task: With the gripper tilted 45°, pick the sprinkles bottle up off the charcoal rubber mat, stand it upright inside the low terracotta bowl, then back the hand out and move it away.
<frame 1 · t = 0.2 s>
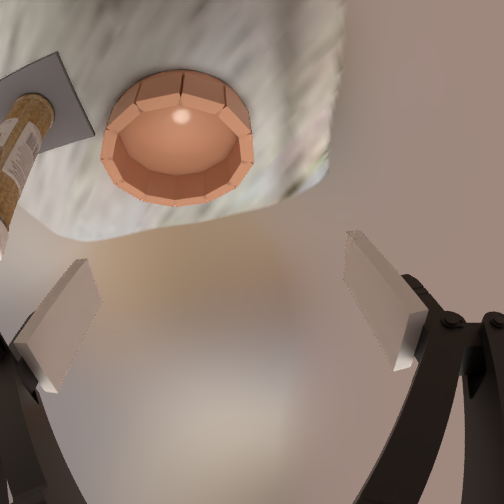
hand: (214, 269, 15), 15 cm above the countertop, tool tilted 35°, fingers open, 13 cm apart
rubber mat: (35, 111, 20), on the countertop
sprinkles bottle: (34, 111, 20), resting on rubber mat
terracotta bowl: (178, 129, 25), on the countertop
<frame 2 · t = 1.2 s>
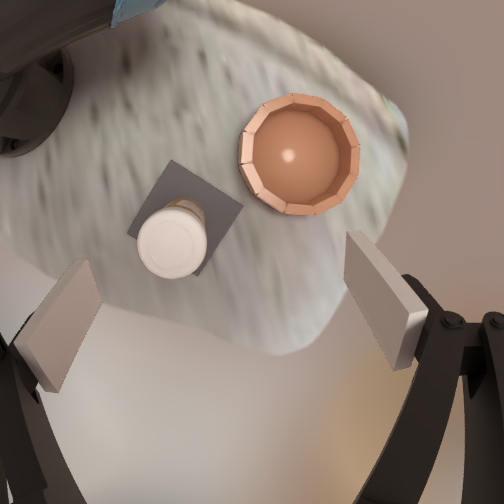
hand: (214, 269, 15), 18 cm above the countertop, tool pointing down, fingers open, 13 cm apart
rubber mat: (184, 218, 32), on the countertop
sprinkles bottle: (184, 218, 32), resting on rubber mat
terracotta bowl: (293, 156, 33), on the countertop
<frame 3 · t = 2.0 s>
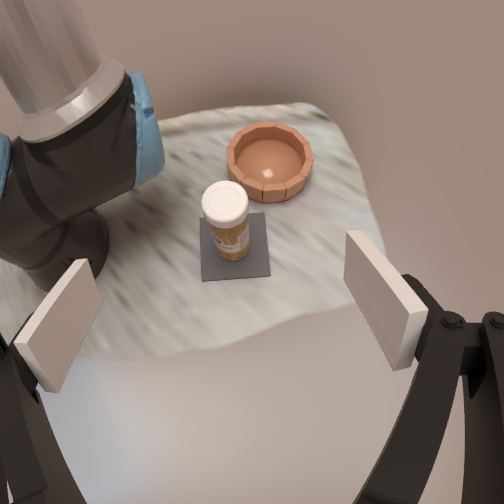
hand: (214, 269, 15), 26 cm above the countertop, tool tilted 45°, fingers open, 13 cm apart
rubber mat: (233, 246, 43), on the countertop
sprinkles bottle: (233, 246, 43), resting on rubber mat
terracotta bowl: (268, 167, 46), on the countertop
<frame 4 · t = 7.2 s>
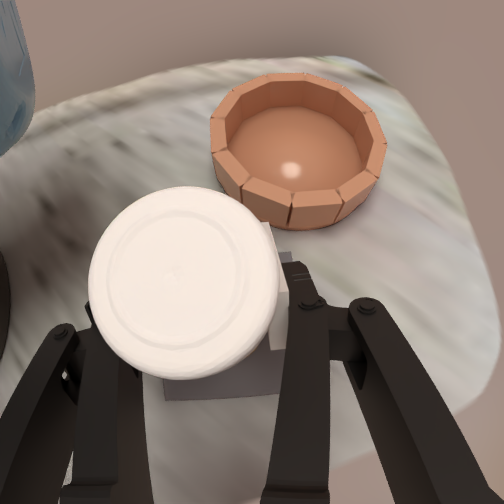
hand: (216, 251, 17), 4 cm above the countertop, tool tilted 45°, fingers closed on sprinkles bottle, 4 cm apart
rubber mat: (228, 327, 20), on the countertop
sprinkles bottle: (228, 327, 19), resting on rubber mat, touching gripper
terracotta bowl: (294, 158, 23), on the countertop
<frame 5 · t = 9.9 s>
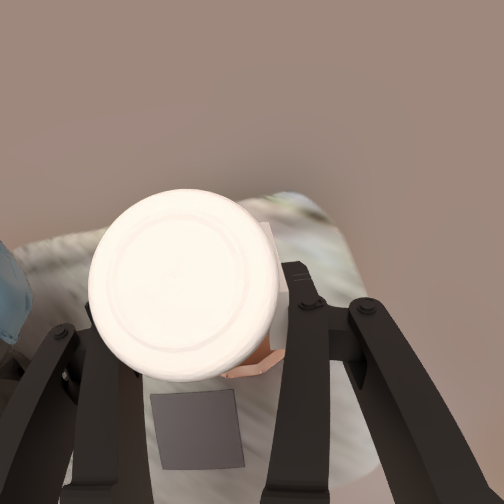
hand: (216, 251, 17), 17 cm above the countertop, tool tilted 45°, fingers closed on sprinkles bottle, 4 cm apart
rubber mat: (196, 432, 29), on the countertop
sprinkles bottle: (228, 328, 19), point 13 cm above the countertop, touching gripper
terracotta bowl: (238, 317, 33), on the countertop
when the fingers open (6 cm above the countertop, at t = 12.5 s): sprinkles bottle drops 1 cm, resting on terracotta bowl.
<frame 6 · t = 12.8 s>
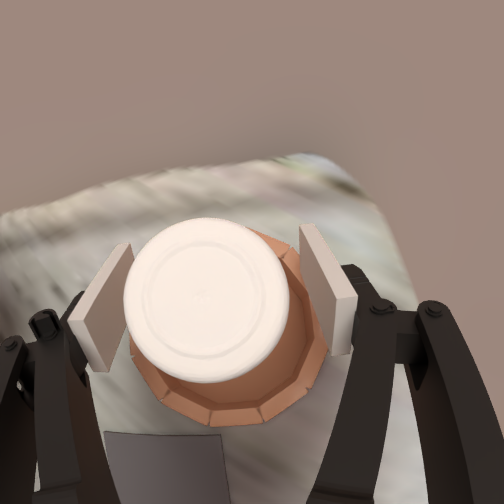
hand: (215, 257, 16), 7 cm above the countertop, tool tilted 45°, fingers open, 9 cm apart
rubber mat: (168, 487, 18), on the countertop
sprinkles bottle: (232, 330, 21), point 1 cm above the countertop, touching terracotta bowl
terracotta bowl: (231, 330, 21), on the countertop
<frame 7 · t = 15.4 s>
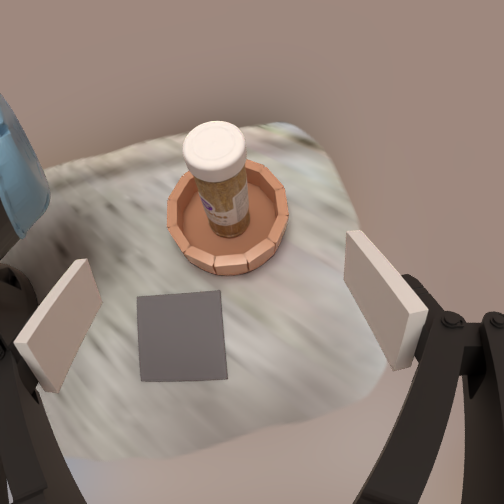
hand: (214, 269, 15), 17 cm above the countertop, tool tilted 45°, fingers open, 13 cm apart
rubber mat: (179, 337, 31), on the countertop
sprinkles bottle: (230, 220, 34), point 1 cm above the countertop, touching terracotta bowl
terracotta bowl: (229, 222, 34), on the countertop
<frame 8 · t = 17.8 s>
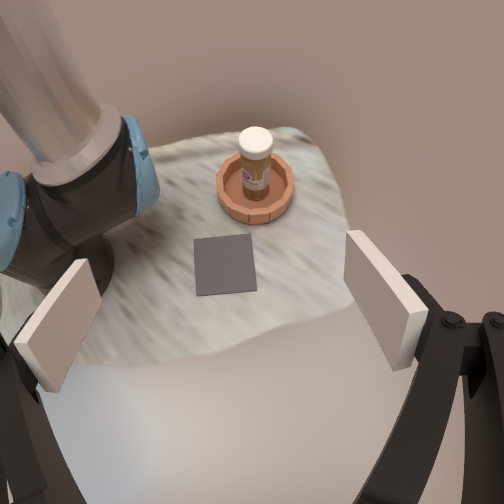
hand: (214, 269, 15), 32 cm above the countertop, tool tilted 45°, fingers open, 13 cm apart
rubber mat: (224, 264, 48), on the countertop
sprinkles bottle: (256, 190, 51), point 1 cm above the countertop, touching terracotta bowl
terracotta bowl: (255, 191, 52), on the countertop
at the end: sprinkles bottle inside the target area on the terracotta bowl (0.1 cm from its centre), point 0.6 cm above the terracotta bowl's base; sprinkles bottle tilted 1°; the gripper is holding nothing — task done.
